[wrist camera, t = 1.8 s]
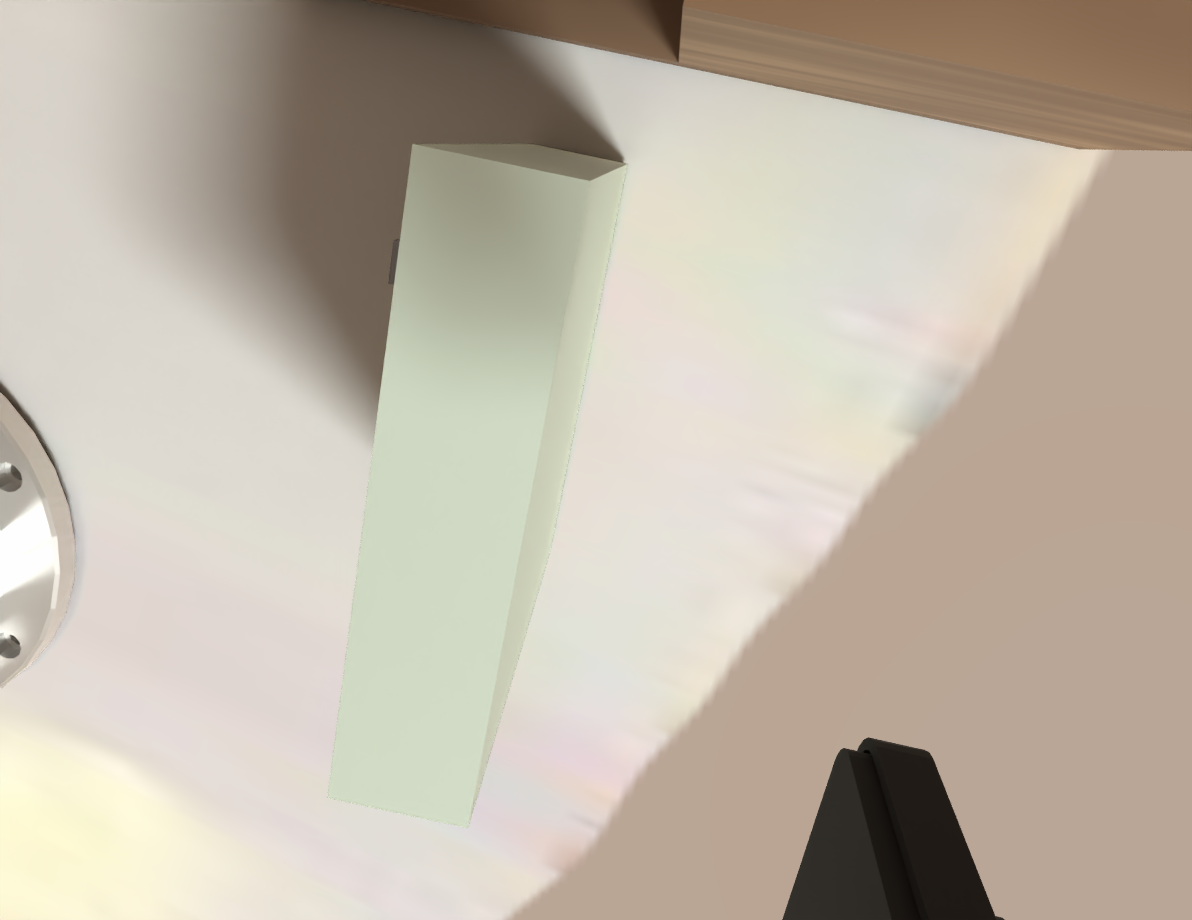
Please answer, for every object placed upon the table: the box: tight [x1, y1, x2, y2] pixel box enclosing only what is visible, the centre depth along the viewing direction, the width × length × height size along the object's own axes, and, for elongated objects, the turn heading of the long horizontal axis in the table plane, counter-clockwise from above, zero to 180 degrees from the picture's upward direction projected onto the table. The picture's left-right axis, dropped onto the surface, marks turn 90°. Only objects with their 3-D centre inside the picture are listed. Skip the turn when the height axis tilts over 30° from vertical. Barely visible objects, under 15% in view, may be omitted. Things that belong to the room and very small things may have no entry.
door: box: [327, 144, 628, 828], centre depth 21 cm, size 11×3×12 cm, turn 169°
